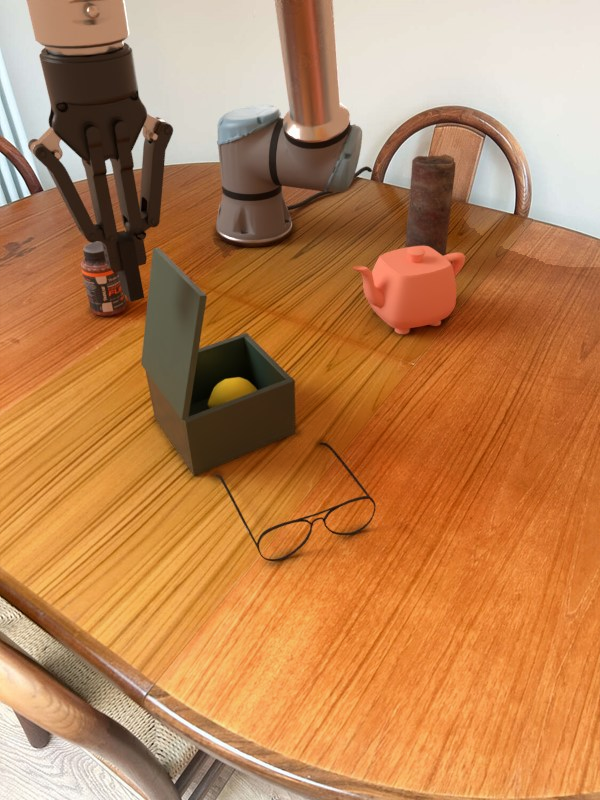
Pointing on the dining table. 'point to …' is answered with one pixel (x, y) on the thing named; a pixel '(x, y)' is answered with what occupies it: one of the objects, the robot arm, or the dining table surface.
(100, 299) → the supplement bottle
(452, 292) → the teapot
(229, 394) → the lemon
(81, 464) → the dining table surface
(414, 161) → the candle
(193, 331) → the lid
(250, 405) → the chest
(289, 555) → the glasses
